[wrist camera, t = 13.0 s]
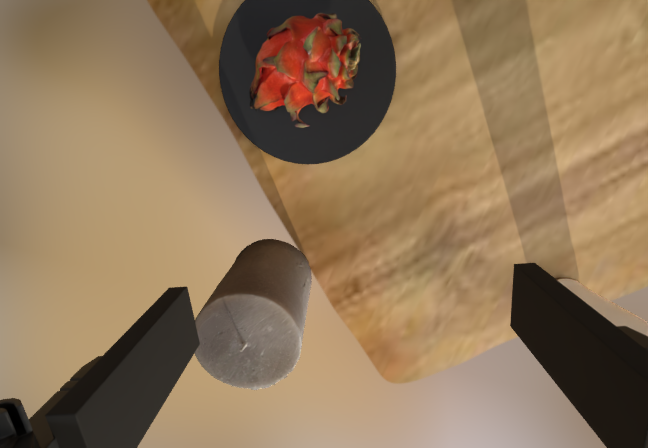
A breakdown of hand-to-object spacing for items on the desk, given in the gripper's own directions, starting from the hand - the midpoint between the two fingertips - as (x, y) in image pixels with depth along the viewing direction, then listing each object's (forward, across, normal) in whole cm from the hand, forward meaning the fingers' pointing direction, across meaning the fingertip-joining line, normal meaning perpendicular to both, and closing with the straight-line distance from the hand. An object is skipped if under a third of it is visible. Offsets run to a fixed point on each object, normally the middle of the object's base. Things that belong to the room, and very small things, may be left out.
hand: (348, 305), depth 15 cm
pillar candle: (+27, -9, -11) cm, 31 cm away
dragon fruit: (+27, -3, +11) cm, 29 cm away
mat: (+27, -3, +11) cm, 30 cm away
